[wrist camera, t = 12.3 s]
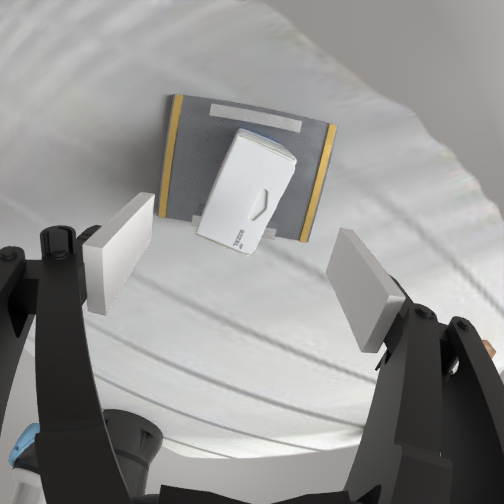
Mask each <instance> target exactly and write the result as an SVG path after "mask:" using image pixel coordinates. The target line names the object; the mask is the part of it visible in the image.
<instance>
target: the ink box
mask: <svg viewBox="0 0 504 504" xmlns="http://www.w3.org/2000/svg"><path fill="white" fill-rule="evenodd" d="M296 162H297V160H296V158H295V157H294V156H293V155H292V154H291V153H290V152H289V151H288V150H287V149H286V148H285V147H283V146H282V145H281V144H280V143H279V142H276V141H274V140H272V139H270V138H267V137H265V136H262V135H260V134H257V133H255V132H252V131H250V130H247V129H244V128H242V127H239V129H238V131H237V133H236V135H235V137H234V139H233V141H232V143H231V145H230V147H229V149H228V151H227V154H226V156H225V158H224V160H223V163H222V165H221V167H220V170H219V172H218V174H217V177H216V179H215V182H214V184H213V187H212V189H211V192H210V194H209V197H208V200H207V202H206V205H205V208H204V211H203V213H202V216H201V219H200V221H199V224H198V227H197V230H196V233H195V234H196V235H198V236H200V237H202V238H204V239H207V240H209V241H211V242H214V243H216V244H219V245H221V246H223V247H226V248H228V249H230V250H233V251H235V252H238V253H240V254H243V255H245V256H247V257H249V256H250V254H251V253H252V252H253V251H254V250H255V248H256V247H257V244H258V242H259V240H260V239H261V237H262V235H263V233H264V231H265V228H266V226H267V224H268V222H269V220H270V218H271V217H272V215H273V213H274V211H275V209H276V207H277V204H278V202H279V200H280V198H281V197H282V195H283V193H284V191H285V189H286V187H287V185H288V183H289V181H290V179H291V177H292V175H293V173H294V171H295V164H296Z"/></svg>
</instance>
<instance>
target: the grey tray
mask: <svg viewBox="0 0 504 504" xmlns="http://www.w3.org/2000/svg"><path fill="white" fill-rule="evenodd" d="M239 127H242V128H244V129H247V130H250V131H252V132H255V133H257V134H260V135H262V136H265V137H267V138H270V139H272V140H274V141H276V142H279V143H280V144H281V145H282V146H283V147H285V148H286V149H287V150H288V151H289V152H290V153H291V154H292V155H293V156H294V157H295V158H296V160H297V162H296V164H295V171H294V173H293V175H292V177H291V179H290V181H289V183H288V185H287V187H286V189H285V191H284V193H283V195H282V197H281V198H280V200H279V202H278V204H277V207H276V209H275V211H274V213H273V215H272V217H271V218H270V220H269V222H268V224H267V226H266V228H265V231H264V233H263V235H262V238H268V239H273V240H274V238H275V236H277V237H283V238H288V239H294V240H299V241H300V242H305V243H306V242H308V240H309V237H310V233H311V230H312V226H313V223H314V219H315V216H316V212H317V209H318V205H319V201H320V198H321V194H322V190H323V186H324V183H325V179H326V175H327V171H328V167H329V163H330V159H331V155H332V151H333V147H334V143H335V139H336V135H337V131H338V127H339V126H336V125H332V124H328V123H325V122H321V121H317V120H313V119H309V118H305V117H301V116H297V115H293V114H289V113H284V112H280V111H275V110H271V109H266V108H261V107H256V106H251V105H245V104H240V103H234V102H228V101H222V100H215V99H208V98H201V97H193V96H184V95H175V94H173V100H172V105H171V111H170V117H169V123H168V129H167V135H166V142H165V149H164V156H163V164H162V172H161V180H160V189H159V198H158V208H157V216H159V217H161V218H166V217H167V218H173V219H179V220H185V221H191V222H192V225H193V226H198V224H199V221H200V219H201V216H202V213H203V211H204V208H205V205H206V202H207V200H208V197H209V194H210V192H211V189H212V187H213V184H214V182H215V179H216V177H217V174H218V172H219V170H220V167H221V165H222V163H223V160H224V158H225V156H226V154H227V151H228V149H229V147H230V145H231V143H232V141H233V139H234V137H235V135H236V133H237V131H238V129H239Z"/></svg>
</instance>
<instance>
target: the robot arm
mask: <svg viewBox="0 0 504 504" xmlns="http://www.w3.org/2000/svg"><path fill="white" fill-rule="evenodd" d="M154 196H155V194H152V193H145V192H140V193H139V194H138V195H137V196H135V197H134V198H133V199H132V200H131V201H130V202H128V203H127V204H126V205H125V206H124V207H123V208H122V209H120V210H119V211H118V212H117V213H116V214H115V215H114V216H113V217H111V218H110V219H109V220H108V221H107V222H106V223H105V224H104V225H103V226H99V225H95V226H92V227H90V228H87V229H86V230H85V231H84V232H83V233H81V234H80V235H79V236H78V237H77V239H76V232H75V230H74V229H73V228H72V227H69V226H61V225H58V226H52V227H49V228H46V229H44V230H43V231H42V232H41V233H40V242H41V251H42V260H25V253H24V250H23V249H22V248H20V247H15V246H13V247H11V246H7V247H4V248H2V249H1V250H0V435H1V429H2V424H3V419H4V415H5V410H6V406H7V402H8V398H9V394H10V390H11V386H12V382H13V379H14V375H15V372H16V369H17V365H18V362H19V359H20V356H21V353H22V350H23V347H24V344H25V341H26V338H27V335H28V333H29V330H30V327H31V325H32V322H33V319H34V317H35V315H36V330H35V371H36V392H37V405H38V415H39V423H32V424H30V425H29V426H28V427H27V428H26V429H25V430H24V432H23V433H22V434H21V436H20V437H19V439H18V440H17V442H16V445H15V446H14V448H13V449H12V452H11V453H10V456H9V459H8V462H9V464H11V466H12V467H13V470H12V476H13V478H14V480H15V482H16V486H15V489H14V492H13V495H12V497H11V500H10V503H9V504H250V503H246V502H242V501H239V500H235V499H231V498H228V497H225V496H221V495H218V494H215V493H212V492H207V491H198V490H191V489H184V488H178V487H171V486H166V485H161V488H160V494H147V495H145V488H146V482H147V477H148V470H149V466H150V464H151V462H152V460H153V459H154V457H155V456H156V454H157V453H158V451H159V449H160V448H161V446H162V441H163V434H162V432H161V431H160V429H159V428H158V427H157V426H155V425H154V424H153V423H151V422H150V421H148V420H146V419H144V418H142V417H140V416H138V415H135V414H132V413H129V412H125V411H119V410H107V411H103V412H102V409H101V405H100V401H99V397H98V393H97V389H96V384H95V380H94V375H93V371H92V366H91V361H90V356H89V350H88V344H87V338H86V332H85V326H84V318H83V311H82V305H83V303H84V302H85V300H86V299H87V307H88V311H89V312H93V313H97V314H101V315H105V316H106V315H107V313H108V311H109V310H110V308H111V306H112V305H113V303H114V301H115V299H116V298H117V296H118V294H119V293H120V291H121V289H122V288H123V286H124V284H125V283H126V281H127V279H128V278H129V276H130V274H131V273H132V271H133V270H134V268H135V266H136V265H137V263H138V262H139V260H140V258H141V257H142V255H143V254H144V252H145V251H146V249H147V247H148V246H149V244H150V243H151V231H152V218H153V207H154ZM326 274H327V276H328V278H329V280H330V282H331V284H332V287H333V289H334V291H335V293H336V295H337V298H338V300H339V302H340V304H341V306H342V309H343V311H344V313H345V315H346V318H347V320H348V322H349V325H350V327H351V329H352V332H353V334H354V336H355V339H356V341H357V343H358V346H359V348H360V350H361V352H364V353H378V351H379V349H380V347H381V345H382V344H383V342H384V343H385V345H386V347H387V350H386V351H385V353H384V355H383V357H382V358H381V360H380V362H379V363H378V365H377V367H376V368H375V370H376V371H377V370H378V369H379V368H380V371H379V375H378V379H377V384H376V388H375V392H374V396H373V400H372V404H371V407H370V411H369V415H368V418H367V422H366V425H365V429H364V432H363V435H362V438H361V442H360V445H359V448H358V451H357V454H356V457H355V460H354V463H353V466H352V468H351V471H350V474H349V477H348V480H347V482H346V485H345V487H344V489H343V491H340V492H331V493H320V494H306V495H303V496H300V497H296V498H293V499H289V500H285V501H281V502H276V503H272V504H504V385H503V382H502V380H501V378H500V376H499V374H498V372H497V369H496V367H495V365H494V363H493V361H492V359H491V357H490V355H489V353H488V351H487V349H486V347H485V346H484V344H483V342H482V340H481V338H480V336H479V334H478V332H477V331H476V329H475V327H474V326H473V325H472V324H471V323H470V321H469V320H466V319H465V318H461V317H458V316H455V317H453V318H452V319H451V321H450V323H449V325H446V324H442V323H439V322H438V320H437V316H436V314H435V313H434V312H433V311H432V310H430V309H429V308H428V307H426V306H424V305H421V304H416V303H413V301H412V300H411V299H410V297H409V296H408V295H407V293H406V292H405V291H404V289H403V288H402V287H401V285H400V284H399V283H398V282H397V280H396V279H394V278H393V277H392V276H390V275H389V274H388V273H387V272H386V271H385V269H384V268H383V267H382V265H381V264H380V263H379V262H378V260H377V259H376V258H375V257H374V255H373V254H372V253H371V252H370V250H369V249H368V248H367V247H366V245H365V244H364V243H363V242H362V241H361V239H360V238H359V237H358V236H357V235H356V233H355V232H354V231H353V230H349V229H345V228H340V230H339V233H338V237H337V240H336V243H335V246H334V249H333V252H332V255H331V258H330V261H329V264H328V267H327V270H326ZM458 361H459V366H458V369H457V371H456V372H455V374H454V373H453V371H452V369H453V368H454V366H455V365H456V364H457V362H458ZM440 453H441V457H440Z"/></svg>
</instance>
